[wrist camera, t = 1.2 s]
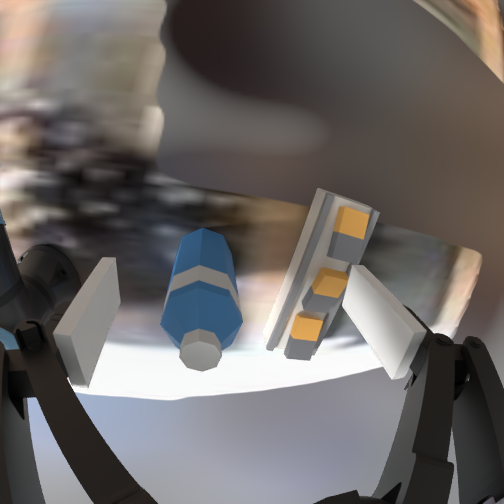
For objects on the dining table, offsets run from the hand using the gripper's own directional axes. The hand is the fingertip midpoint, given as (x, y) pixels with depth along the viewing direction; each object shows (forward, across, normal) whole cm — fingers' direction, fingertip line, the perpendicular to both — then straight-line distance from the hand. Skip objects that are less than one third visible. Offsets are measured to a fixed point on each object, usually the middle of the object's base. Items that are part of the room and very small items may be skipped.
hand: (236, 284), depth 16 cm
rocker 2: (+27, +18, -16) cm, 36 cm away
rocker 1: (+27, +16, -25) cm, 40 cm away
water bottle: (+33, -2, -13) cm, 36 cm away
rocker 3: (+26, +20, -6) cm, 34 cm away
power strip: (+33, +18, -16) cm, 41 cm away
